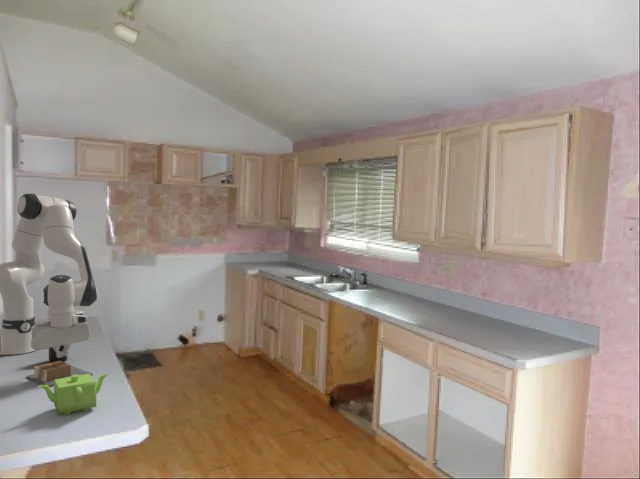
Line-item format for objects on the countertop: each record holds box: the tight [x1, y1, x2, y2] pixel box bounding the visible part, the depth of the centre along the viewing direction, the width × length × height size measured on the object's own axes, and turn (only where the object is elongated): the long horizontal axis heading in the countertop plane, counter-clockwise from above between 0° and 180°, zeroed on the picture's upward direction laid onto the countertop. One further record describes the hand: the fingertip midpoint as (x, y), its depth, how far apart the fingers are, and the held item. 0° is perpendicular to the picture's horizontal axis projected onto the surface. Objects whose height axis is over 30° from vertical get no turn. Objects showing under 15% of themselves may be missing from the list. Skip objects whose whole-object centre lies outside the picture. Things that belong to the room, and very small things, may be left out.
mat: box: [26, 365, 93, 388], centre depth 179 cm, size 16×16×1 cm
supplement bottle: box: [48, 345, 69, 363], centre depth 197 cm, size 7×7×12 cm
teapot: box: [37, 373, 110, 416], centre depth 150 cm, size 15×13×11 cm
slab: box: [34, 361, 72, 382], centre depth 177 cm, size 8×4×9 cm
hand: (61, 356), depth 179 cm, fingers closed
